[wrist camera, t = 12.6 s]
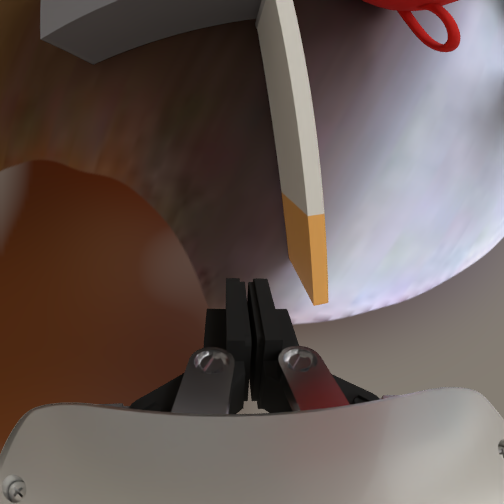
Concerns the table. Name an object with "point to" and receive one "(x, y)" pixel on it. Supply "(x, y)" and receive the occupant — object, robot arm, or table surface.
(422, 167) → the table surface
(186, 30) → the block
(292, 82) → the side door
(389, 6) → the ceramic cup
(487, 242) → the table surface
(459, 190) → the table surface
